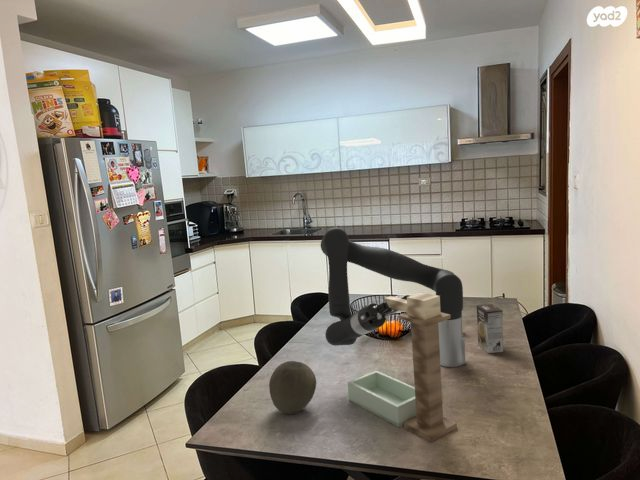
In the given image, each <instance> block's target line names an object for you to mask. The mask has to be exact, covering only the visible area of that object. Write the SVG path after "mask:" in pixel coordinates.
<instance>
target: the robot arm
mask: <svg viewBox="0 0 640 480" xmlns="http://www.w3.org/2000/svg"><path fill="white" fill-rule="evenodd" d="M320 249H321V251H322V253H323V255H325V256H327V261H328V270H329V271H328V291H327V292H328V306H329V314H330V316H332V317H334V318H338V319H339V320H338V321H335V322H333V323H331V324H330V325H329V326H327V328H326V330H325V341H327V343H328V344H329V345H332V346H335V347H336V346H351V345H353V344H355V343H356V341H357V339H358V338H360V337H362V336H364V335H366V334H367V335H368V334H370V333H371V332H373V331H375V330H377V329H379V328H381V327H382V326H384V324H385V322H386V319H387V317H390V316H391V315H392V314H396V312H397V311H399V310H396V309H393V308H389V306H388V304H387V302H384V301H383V302H382V303H380V304H377V303H374V302H371V303H368V304H367V305H365V306H363V307H362V308H360V309H359V310H356V311H355V312H354V314H352V311H351V306H350V304H351V303H350V292H349V291H350V290H349V281H348V280H349V277H348V263H351V264H354V265H357V266H359V267H362V268H364V269H366V270H369V271H372V272H375V273H376V274H379V275H381V276H384V277H387V278H390V279H394V280H397V281H403V282H411V283H415V284H418V285H420V286H424V287H425V288H428V289H430V290H431V291H433V292H435V295H438V296H440V311H441V312H442V313H446V314H450V315H451V318H450V319H447V320H445V321H442V322H439V323H438V327H439V347H440V366H441V367H442V366H443V367H446V368H455V367H461V366H463V365H466V343H465V342H466V341H465V337H464V336H463V316H462V315H463V313H462V312H463V309H464V291H463V283H462V280H461V279H460V277H459V276H458V275H456V274H455V273H454V272H452V271H450V270H448V269H445V268H439V267H435V266H432V265H431V266H430V265H428V264H424V263H422V262H420V261H418V260H416V259H413V258H411V257H409V256H407V255H403V254H401V253H400V252H397V251H394V250H391V249H387V248H384V247H378V246H377V247H376V246H370V245H369V246H368V245H362V244H358V243H356V242H355V241H354V242H353V241H351V240H350V238H349V235H348V234H347V232H346V231H345V230H344V229H342V228H339V227H332V228H330V229H328V230H327V231H326V232H325V233H324V235H323V237H322V239H321V241H320ZM405 295H406V296H404V297H403V298H401V299H405V300H407V297H409V296H410V295H409V294H405Z"/></svg>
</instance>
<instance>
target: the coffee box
mask: <svg viewBox="0 0 640 480" xmlns="http://www.w3.org/2000/svg"><path fill="white" fill-rule="evenodd" d="M503 313H504V312H503V310H502V309H501V308H499V307H498V306H496V305H494V304H493V303H489V304H488V303H487V304H486V303H484V304H478V305H477V304H476V318H477V319H476V320H477V322H476V323H477V325H476V326H477V342H478V343H477V344H478V346H479V347H480V348H481V349H482V350H484V351H485V352H486V353H487V354H492V353H502V352H504V322H503V315H504V314H503Z"/></svg>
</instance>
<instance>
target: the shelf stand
mask: <svg viewBox="0 0 640 480" xmlns="http://www.w3.org/2000/svg"><path fill="white" fill-rule="evenodd" d="M398 316H399V319H401V320H405V321H408V322H410V331H411V332H410V333H411V345H412V347H411V348H412V361H413V362H412V363H413V364H412V365H413V381H414V382H413V383H414V387H415V401H416V416H415V417H413V418H411V419H409V420H407V421H405V422H404V425H403V428H405V429H406V430H408V431H410V432H412V433H414V434H416V435H417V436H419V437H421V438H423V439H425V440H426V441H428V442H430V443H434V442H435V441H437V440H438V439H441V438H442V437H444V436H445V435H447V434H449V433H452V432H454V431H455V430H456V429H458V426H457V425H458V424H457V422H455V421H453V420H451V419H450V418H447V417H445V416H444V411H443V410H444V409H443V394H442V393H443V391H442V390H443V389H442V372H441V371H442V370H441V367H442V366H441V365H440V347H439V327H438V323H439V322H442V321H445V320H447V319H450V318H451V315H450V314H446V313H442V312H441V315H438V316H435V317H432V318H429V319H426V320H423V319H419V318H416V317H412V316H408V312H407V313H404V314H401V315H398Z"/></svg>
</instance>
